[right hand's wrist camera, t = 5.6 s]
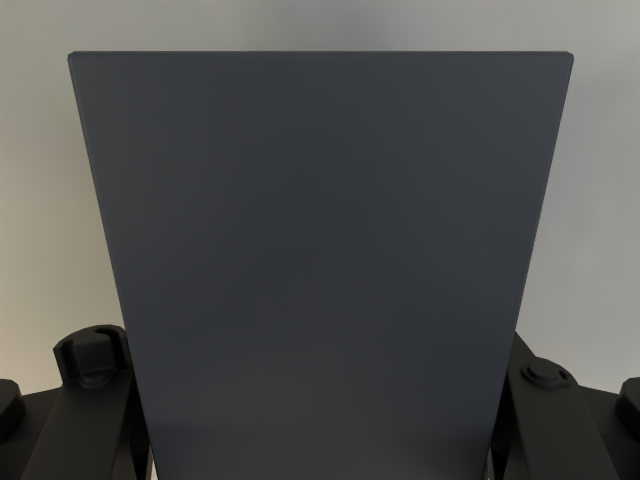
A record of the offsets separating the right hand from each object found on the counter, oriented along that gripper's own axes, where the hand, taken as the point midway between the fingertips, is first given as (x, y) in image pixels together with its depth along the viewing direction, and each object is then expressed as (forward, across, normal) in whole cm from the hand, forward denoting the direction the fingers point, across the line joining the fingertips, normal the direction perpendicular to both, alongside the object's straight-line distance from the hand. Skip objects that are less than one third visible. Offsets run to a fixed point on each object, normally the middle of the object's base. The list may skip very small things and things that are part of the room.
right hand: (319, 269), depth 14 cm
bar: (0, 0, -27) cm, 27 cm away
